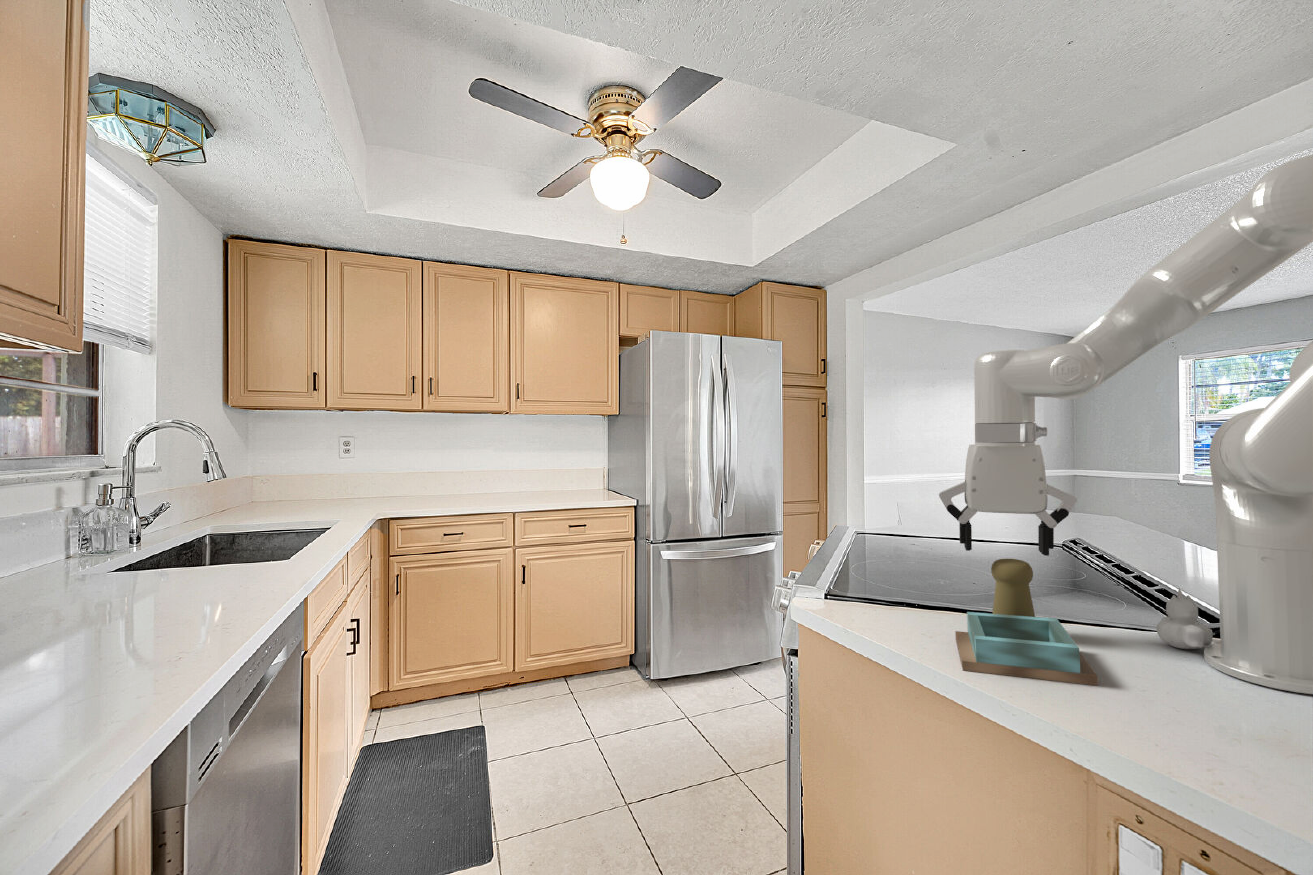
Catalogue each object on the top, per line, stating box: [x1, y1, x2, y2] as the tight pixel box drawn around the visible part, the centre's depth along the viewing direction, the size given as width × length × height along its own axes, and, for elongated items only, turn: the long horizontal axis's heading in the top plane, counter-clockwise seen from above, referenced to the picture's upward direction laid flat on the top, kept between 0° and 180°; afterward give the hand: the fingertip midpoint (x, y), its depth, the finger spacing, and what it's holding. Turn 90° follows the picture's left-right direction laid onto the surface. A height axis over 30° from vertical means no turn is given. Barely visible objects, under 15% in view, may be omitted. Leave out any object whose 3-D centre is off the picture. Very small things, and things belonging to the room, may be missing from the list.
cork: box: [990, 558, 1036, 617], centre depth 82 cm, size 6×6×11 cm
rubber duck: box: [1156, 587, 1214, 650], centre depth 74 cm, size 5×7×8 cm
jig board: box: [954, 611, 1098, 686], centre depth 74 cm, size 14×11×4 cm
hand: (1004, 551), depth 83 cm, fingers open, 9 cm apart
